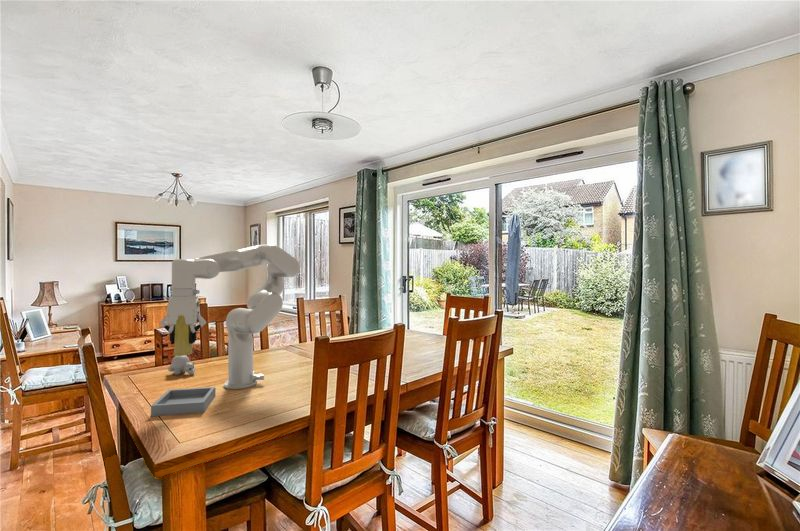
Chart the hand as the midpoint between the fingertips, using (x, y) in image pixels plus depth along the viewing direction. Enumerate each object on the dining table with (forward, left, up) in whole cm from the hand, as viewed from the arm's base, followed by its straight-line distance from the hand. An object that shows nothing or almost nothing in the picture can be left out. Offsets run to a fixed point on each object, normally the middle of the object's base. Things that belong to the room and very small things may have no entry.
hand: (183, 342), depth 139 cm
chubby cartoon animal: (+11, -37, -22) cm, 44 cm away
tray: (-2, +4, -22) cm, 22 cm away
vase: (0, 0, -4) cm, 4 cm away
